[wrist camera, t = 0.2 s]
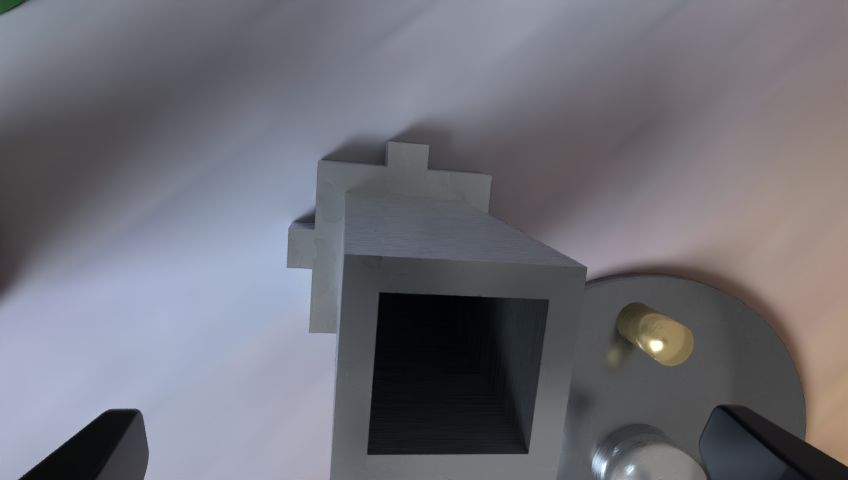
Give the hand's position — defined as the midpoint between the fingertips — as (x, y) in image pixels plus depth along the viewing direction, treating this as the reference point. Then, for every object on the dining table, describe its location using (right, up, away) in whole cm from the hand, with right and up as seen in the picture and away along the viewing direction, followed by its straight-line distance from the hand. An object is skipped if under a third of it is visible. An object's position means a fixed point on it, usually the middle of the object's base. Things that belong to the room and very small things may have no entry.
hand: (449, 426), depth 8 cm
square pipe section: (-2, +3, +15) cm, 15 cm away
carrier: (+10, -8, +19) cm, 23 cm away
